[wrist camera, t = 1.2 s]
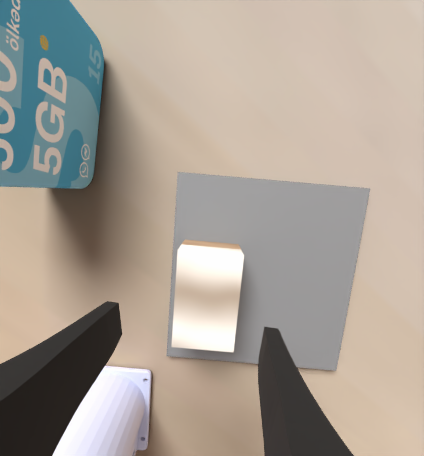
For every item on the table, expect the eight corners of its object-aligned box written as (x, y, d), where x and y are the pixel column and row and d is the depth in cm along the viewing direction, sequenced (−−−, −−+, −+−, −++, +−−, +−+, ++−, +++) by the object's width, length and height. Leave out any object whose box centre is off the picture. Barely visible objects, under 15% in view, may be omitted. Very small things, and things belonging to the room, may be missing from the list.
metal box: (230, 324, 22) (233, 352, 19) (179, 319, 22) (171, 347, 19) (238, 244, 21) (244, 256, 17) (184, 239, 21) (177, 250, 17)
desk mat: (333, 366, 24) (336, 370, 23) (167, 351, 24) (166, 356, 23) (365, 188, 21) (370, 188, 20) (178, 172, 21) (177, 172, 20)
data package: (93, 189, 21) (-59, 185, 10) (45, 180, 21) (-169, 166, 9) (107, 47, 20) (-60, -176, 8) (53, 37, 19) (-197, -203, 8)
